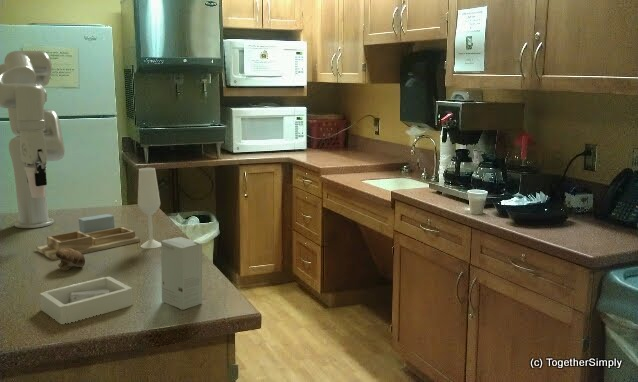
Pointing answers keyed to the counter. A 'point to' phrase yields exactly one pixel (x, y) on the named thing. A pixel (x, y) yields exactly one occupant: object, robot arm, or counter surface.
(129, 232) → the tray
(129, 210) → the counter surface
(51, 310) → the soap dish rim
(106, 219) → the pale grey block
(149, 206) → the champagne flute
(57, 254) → the mushroom
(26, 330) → the counter surface
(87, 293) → the soap bar
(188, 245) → the skincare box
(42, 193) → the smoothie
